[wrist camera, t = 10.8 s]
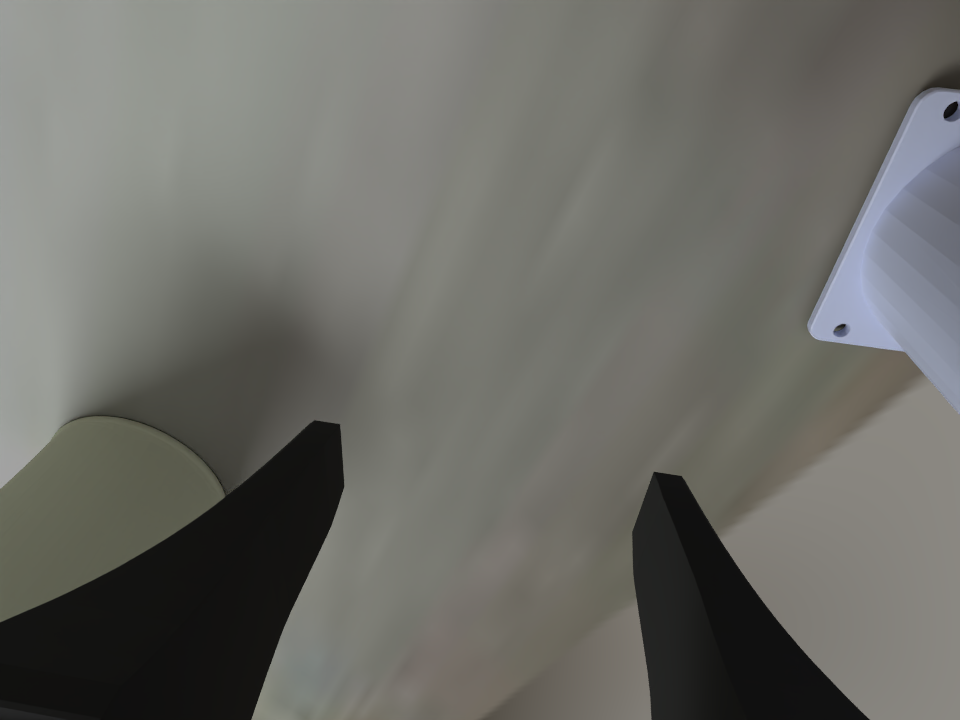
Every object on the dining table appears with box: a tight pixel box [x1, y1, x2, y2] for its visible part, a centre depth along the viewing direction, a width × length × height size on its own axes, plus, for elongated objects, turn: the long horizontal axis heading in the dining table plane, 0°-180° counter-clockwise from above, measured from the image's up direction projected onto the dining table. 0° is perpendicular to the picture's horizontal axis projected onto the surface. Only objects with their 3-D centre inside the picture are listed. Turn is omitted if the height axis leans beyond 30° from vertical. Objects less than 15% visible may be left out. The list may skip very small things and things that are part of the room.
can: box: [0, 416, 225, 622], centre depth 25 cm, size 9×9×12 cm
